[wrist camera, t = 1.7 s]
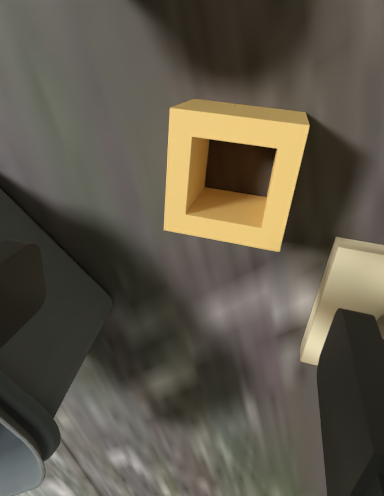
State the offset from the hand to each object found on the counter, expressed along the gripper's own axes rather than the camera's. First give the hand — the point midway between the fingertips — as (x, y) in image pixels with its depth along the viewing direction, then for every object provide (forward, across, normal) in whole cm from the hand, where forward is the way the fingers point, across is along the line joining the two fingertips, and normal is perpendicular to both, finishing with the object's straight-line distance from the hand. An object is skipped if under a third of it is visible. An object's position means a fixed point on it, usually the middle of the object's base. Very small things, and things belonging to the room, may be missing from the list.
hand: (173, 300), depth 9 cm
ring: (+15, 0, 0) cm, 15 cm away
